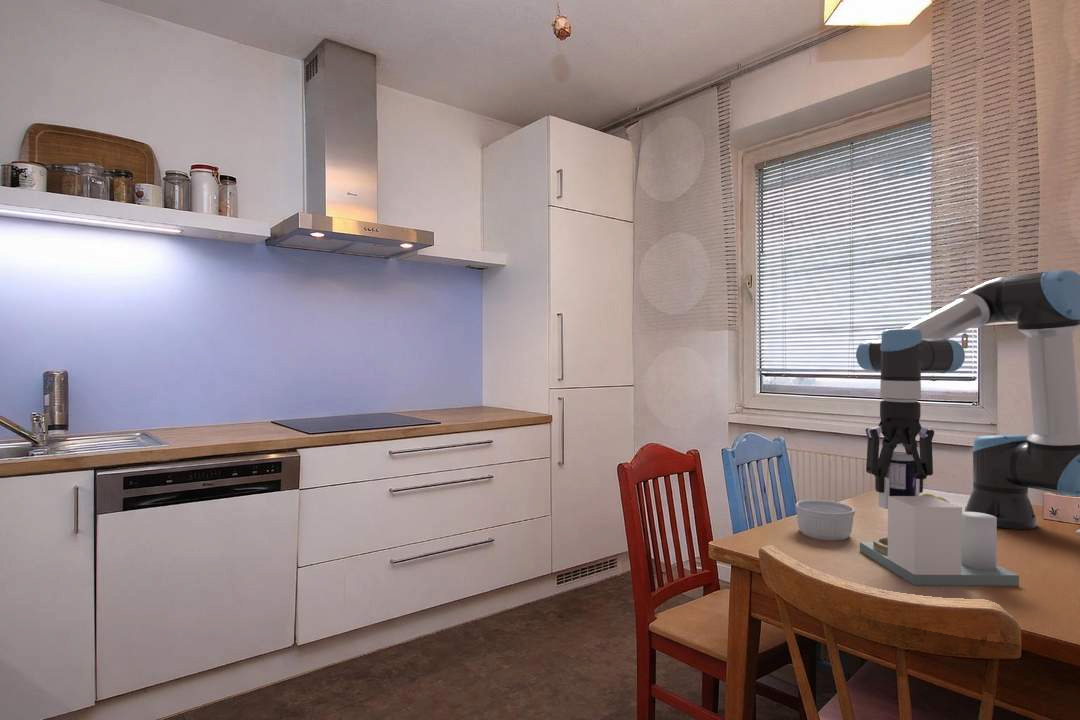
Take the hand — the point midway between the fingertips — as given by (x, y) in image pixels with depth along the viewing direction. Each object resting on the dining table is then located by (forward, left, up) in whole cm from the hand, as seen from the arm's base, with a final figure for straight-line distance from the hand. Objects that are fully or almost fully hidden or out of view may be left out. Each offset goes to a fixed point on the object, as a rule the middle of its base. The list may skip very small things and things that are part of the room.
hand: (898, 507), depth 130 cm
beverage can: (0, 0, -1) cm, 1 cm away
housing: (+1, +10, -9) cm, 14 cm away
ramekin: (+7, -19, -12) cm, 23 cm away
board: (-5, +4, -11) cm, 13 cm away
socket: (0, 0, -9) cm, 9 cm away
